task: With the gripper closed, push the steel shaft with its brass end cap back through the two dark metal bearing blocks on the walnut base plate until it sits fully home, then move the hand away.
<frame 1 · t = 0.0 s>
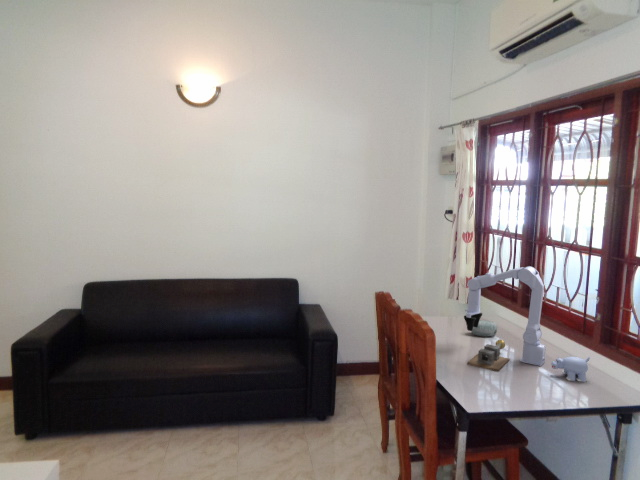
hand: (472, 328, 247), 10 cm above the table, fingers open, 7 cm apart
hippopotamus toy: (569, 376, 215), on the table
pale green pouf: (483, 335, 269), on the table
shaft: (493, 350, 234), point 4 cm above the table, slide at 7.0 cm
bearing frame: (488, 362, 229), on the table
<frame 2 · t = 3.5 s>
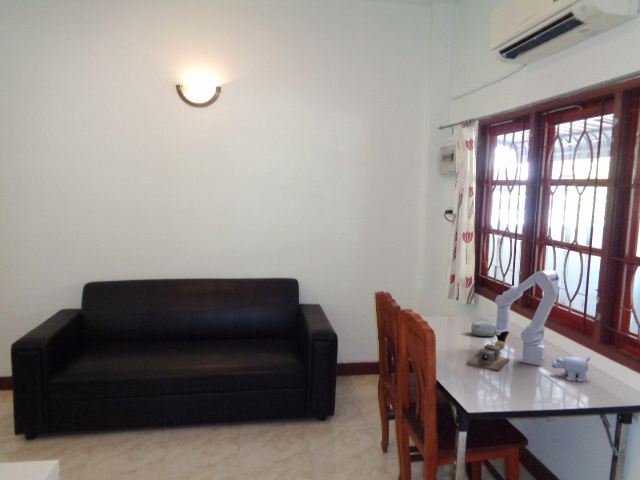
hand: (501, 345, 244), 3 cm above the table, fingers closed
shaft: (493, 350, 233), point 4 cm above the table, slide at 6.1 cm, touching gripper
everything else where it was.
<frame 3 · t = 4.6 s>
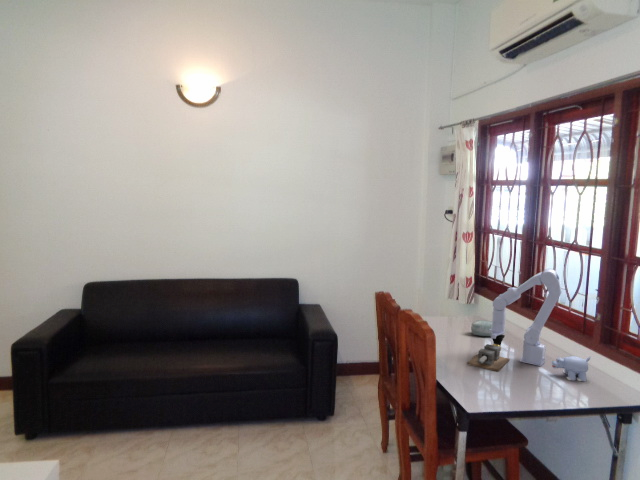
hand: (496, 349, 238), 3 cm above the table, fingers closed
shaft: (489, 354, 228), point 4 cm above the table, slide at -0.1 cm, touching gripper
everything else where it was.
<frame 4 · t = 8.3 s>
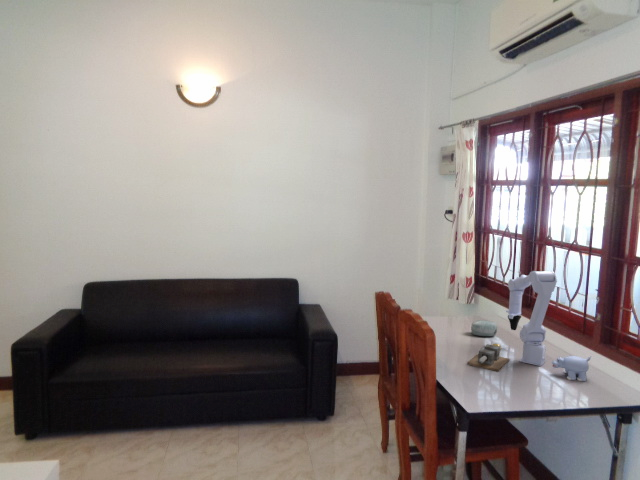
hand: (513, 329, 249), 9 cm above the table, fingers closed
shaft: (489, 354, 229), point 4 cm above the table, slide at 0.0 cm
at the end: shaft slide at 0.0 cm; the gripper is holding nothing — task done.
